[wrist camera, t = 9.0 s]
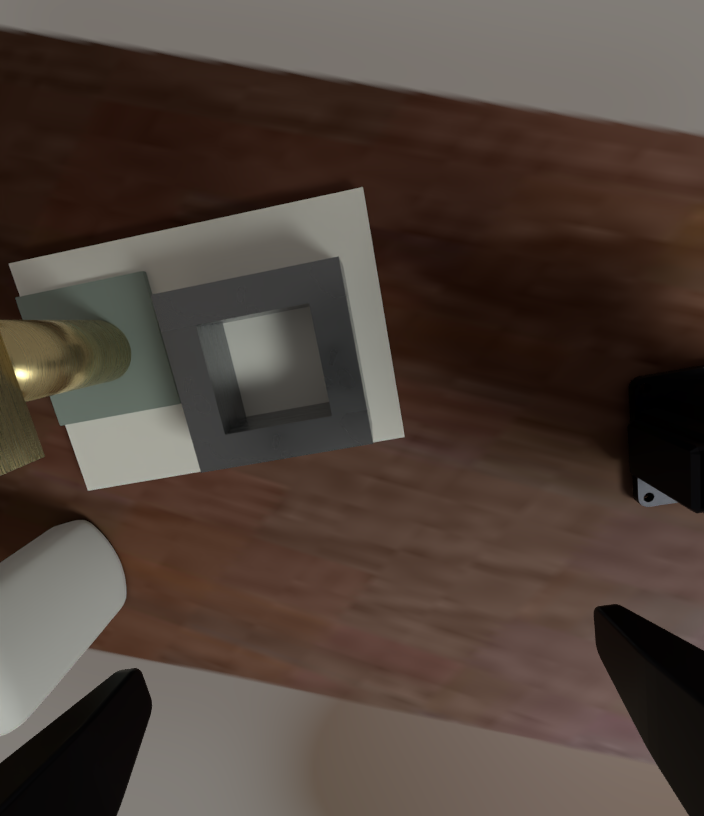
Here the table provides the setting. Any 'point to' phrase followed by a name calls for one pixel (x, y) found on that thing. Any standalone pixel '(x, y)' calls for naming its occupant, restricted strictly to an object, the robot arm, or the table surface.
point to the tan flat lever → (50, 373)
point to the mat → (136, 318)
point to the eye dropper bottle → (52, 612)
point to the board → (233, 324)
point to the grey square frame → (216, 380)
